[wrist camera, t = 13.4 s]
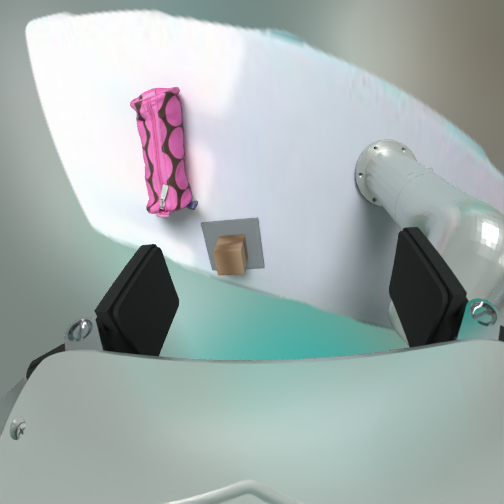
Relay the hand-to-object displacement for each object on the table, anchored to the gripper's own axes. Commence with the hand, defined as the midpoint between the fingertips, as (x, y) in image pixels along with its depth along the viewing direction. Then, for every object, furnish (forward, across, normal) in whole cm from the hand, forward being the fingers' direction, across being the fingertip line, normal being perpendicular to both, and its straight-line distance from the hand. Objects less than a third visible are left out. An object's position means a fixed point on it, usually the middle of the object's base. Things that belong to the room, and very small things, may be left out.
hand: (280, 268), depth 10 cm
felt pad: (+38, +11, +21) cm, 45 cm away
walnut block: (+38, +11, +21) cm, 45 cm away
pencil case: (+39, +19, 0) cm, 43 cm away
